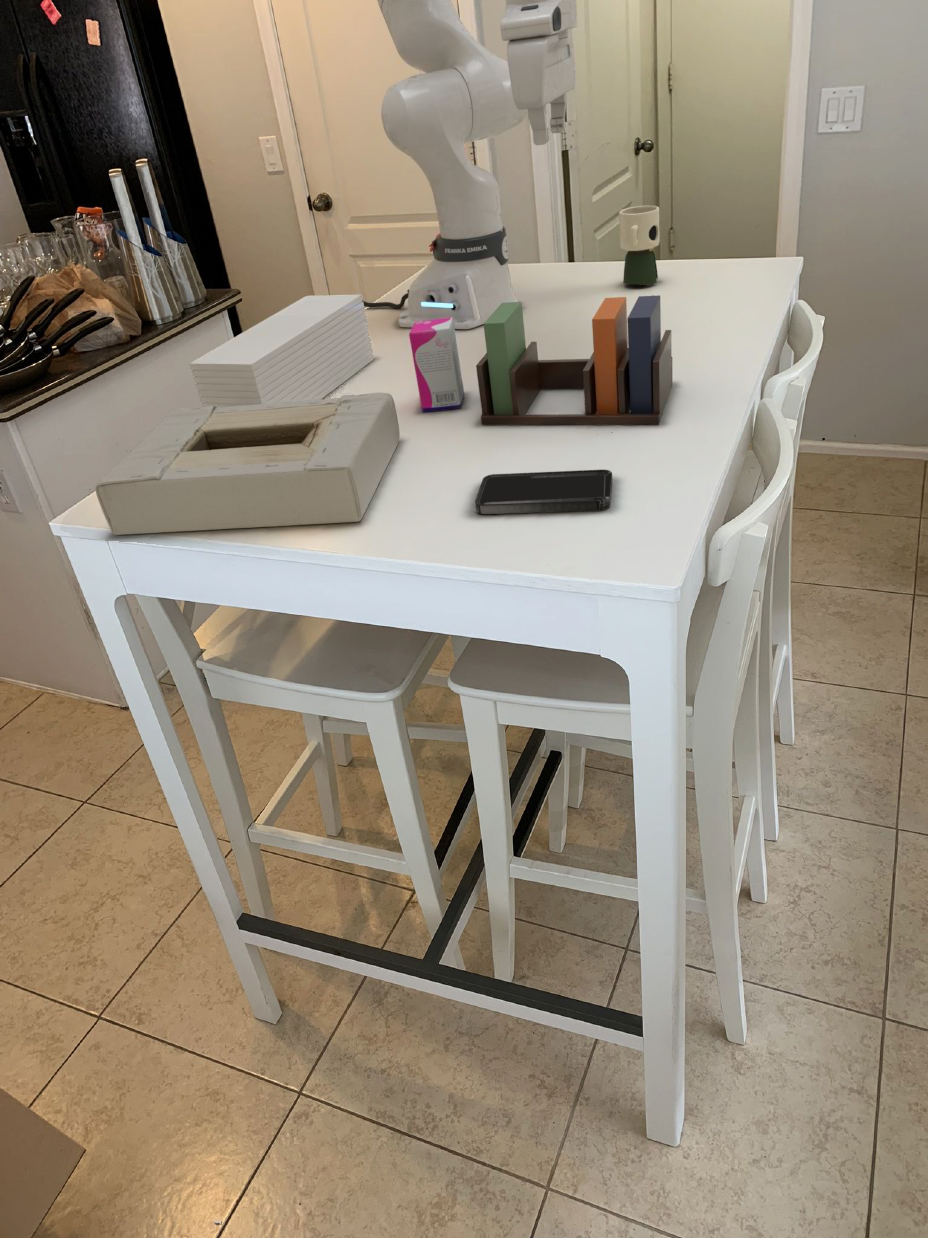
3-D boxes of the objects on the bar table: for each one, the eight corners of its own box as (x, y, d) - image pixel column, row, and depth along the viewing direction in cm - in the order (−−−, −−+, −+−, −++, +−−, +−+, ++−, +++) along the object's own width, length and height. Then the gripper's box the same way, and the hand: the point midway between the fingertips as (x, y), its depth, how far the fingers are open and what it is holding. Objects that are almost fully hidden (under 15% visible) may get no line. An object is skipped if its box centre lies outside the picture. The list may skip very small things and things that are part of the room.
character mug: (653, 292, 163) (652, 215, 156) (615, 293, 166) (612, 217, 159) (665, 275, 172) (665, 201, 164) (628, 276, 174) (626, 203, 167)
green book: (494, 418, 124) (483, 323, 117) (511, 393, 131) (501, 302, 124) (514, 418, 123) (503, 322, 116) (530, 393, 130) (521, 301, 123)
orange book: (597, 417, 120) (591, 319, 113) (609, 392, 127) (605, 297, 119) (618, 417, 119) (614, 318, 112) (629, 391, 126) (626, 296, 119)
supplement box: (465, 393, 134) (454, 315, 127) (461, 409, 129) (450, 328, 122) (426, 397, 134) (414, 319, 128) (421, 412, 130) (408, 333, 123)
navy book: (630, 417, 118) (627, 317, 111) (640, 391, 125) (638, 296, 118) (652, 417, 118) (650, 316, 110) (661, 391, 124) (660, 295, 117)
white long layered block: (320, 358, 157) (306, 295, 151) (374, 359, 153) (361, 294, 147) (210, 434, 134) (189, 363, 127) (270, 437, 129) (251, 363, 123)
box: (402, 440, 123) (182, 455, 128) (393, 385, 118) (165, 403, 124) (367, 526, 104) (111, 539, 109) (354, 465, 100) (88, 482, 105)
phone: (609, 500, 98) (473, 505, 101) (609, 510, 98) (474, 514, 102) (612, 468, 104) (484, 473, 107) (613, 477, 105) (485, 482, 108)
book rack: (481, 425, 123) (474, 367, 119) (508, 387, 134) (502, 333, 129) (659, 424, 115) (658, 363, 111) (672, 384, 126) (672, 327, 121)
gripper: (537, 14, 124) (545, 127, 131) (495, 25, 108) (507, 153, 116) (583, 7, 122) (588, 123, 129) (547, 17, 106) (555, 148, 114)
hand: (550, 137), depth 122 cm, fingers open, 8 cm apart
